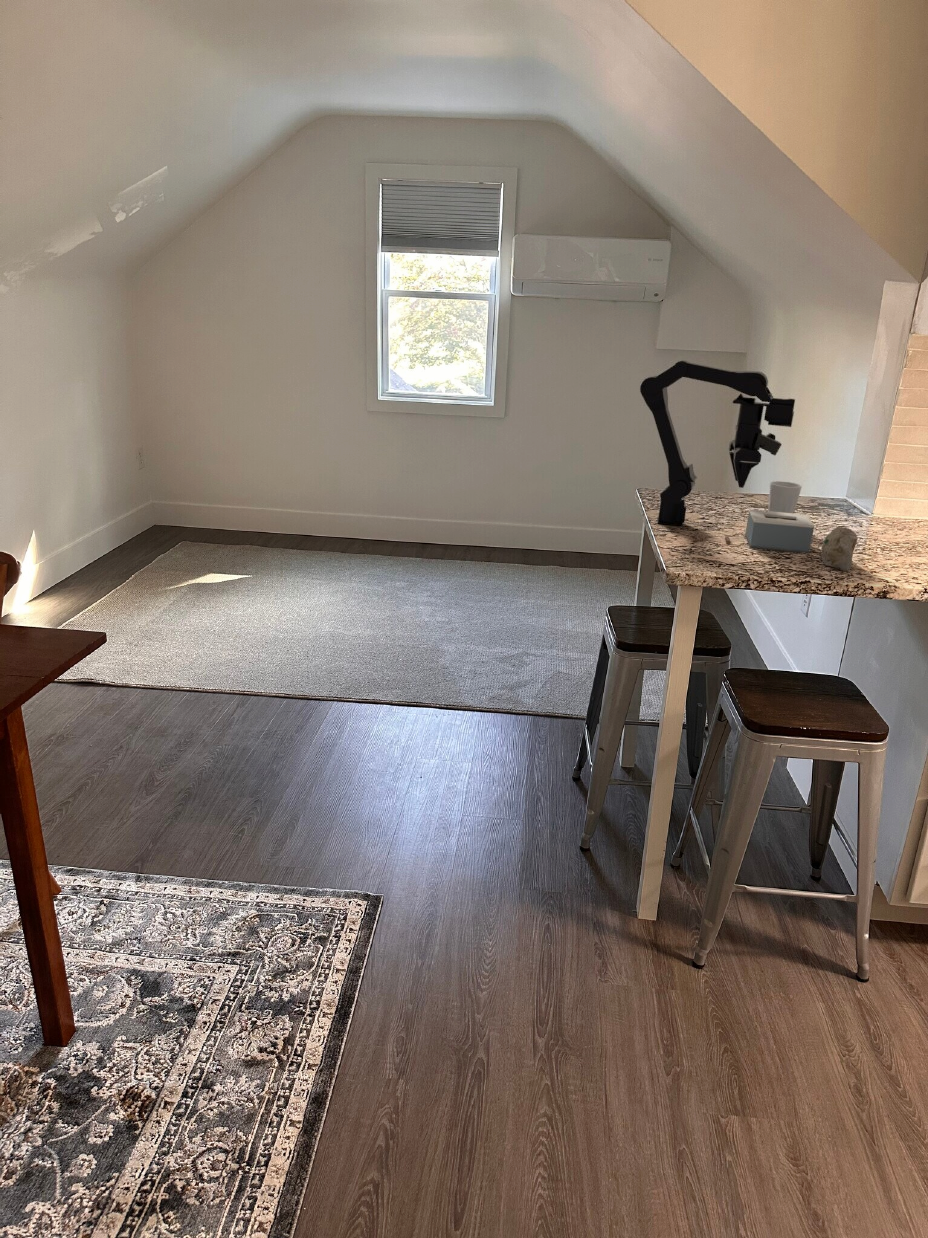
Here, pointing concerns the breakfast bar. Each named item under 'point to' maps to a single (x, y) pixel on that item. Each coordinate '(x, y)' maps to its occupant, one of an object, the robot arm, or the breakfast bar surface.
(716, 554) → the breakfast bar surface
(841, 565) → the rock
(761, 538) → the box
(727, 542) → the coin stand
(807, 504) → the breakfast bar surface
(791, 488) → the cup
